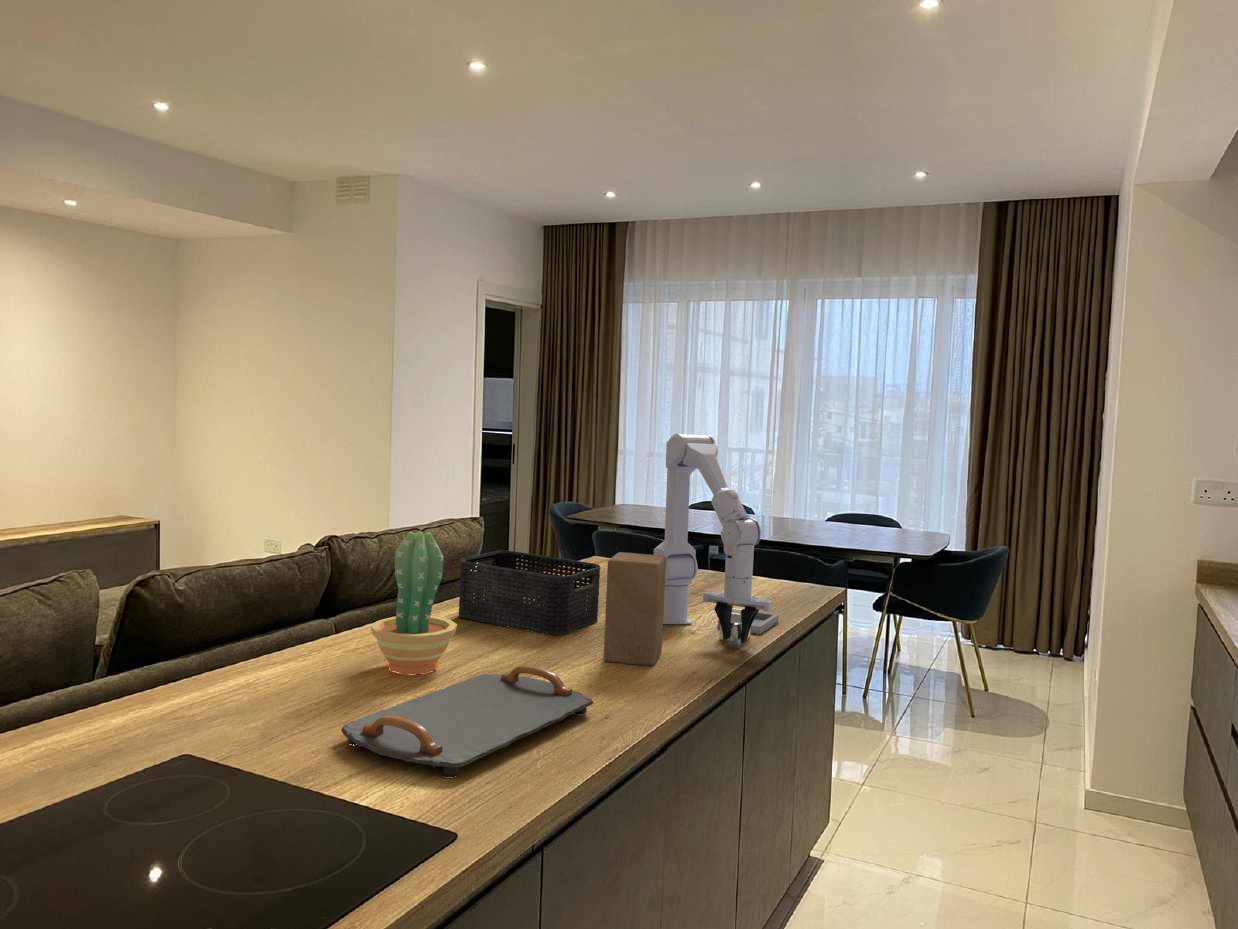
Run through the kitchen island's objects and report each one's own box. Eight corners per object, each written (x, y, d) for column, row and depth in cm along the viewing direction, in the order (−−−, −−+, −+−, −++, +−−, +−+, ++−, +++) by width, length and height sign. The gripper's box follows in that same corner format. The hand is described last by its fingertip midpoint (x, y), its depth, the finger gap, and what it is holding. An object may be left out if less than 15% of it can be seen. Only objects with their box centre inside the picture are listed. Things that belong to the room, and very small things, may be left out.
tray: (760, 634, 202) (760, 626, 202) (717, 628, 206) (718, 620, 206) (778, 622, 214) (778, 614, 214) (737, 616, 219) (738, 608, 219)
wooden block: (653, 667, 174) (658, 563, 172) (602, 662, 175) (607, 559, 174) (661, 653, 183) (666, 555, 182) (613, 648, 185) (617, 551, 184)
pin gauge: (730, 648, 189) (732, 624, 189) (727, 645, 192) (728, 622, 191) (741, 648, 190) (743, 625, 189) (738, 645, 192) (739, 622, 192)
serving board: (495, 684, 160) (497, 650, 160) (606, 712, 148) (608, 675, 148) (320, 751, 127) (321, 708, 127) (444, 794, 115) (446, 747, 115)
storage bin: (603, 620, 209) (606, 563, 208) (560, 638, 192) (562, 576, 191) (500, 603, 222) (502, 549, 221) (451, 618, 205) (453, 559, 204)
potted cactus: (469, 662, 172) (474, 530, 170) (431, 685, 157) (436, 542, 155) (396, 652, 176) (400, 524, 174) (352, 674, 161) (356, 534, 159)
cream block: (742, 643, 194) (743, 615, 194) (719, 639, 197) (720, 612, 196) (750, 637, 199) (751, 610, 199) (727, 634, 201) (729, 607, 201)
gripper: (699, 574, 189) (695, 638, 190) (766, 583, 183) (762, 650, 184) (711, 569, 196) (708, 631, 197) (776, 578, 189) (772, 642, 190)
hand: (735, 640), depth 191 cm, fingers open, 3 cm apart
